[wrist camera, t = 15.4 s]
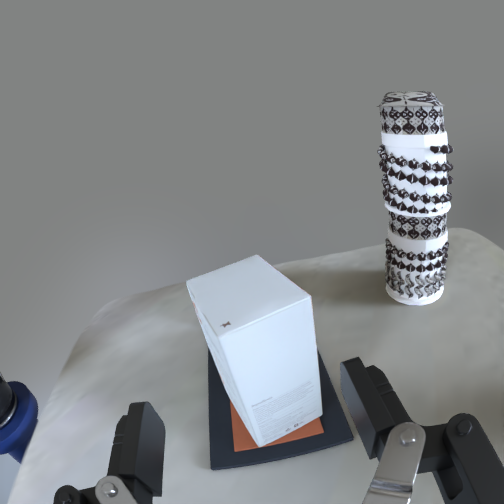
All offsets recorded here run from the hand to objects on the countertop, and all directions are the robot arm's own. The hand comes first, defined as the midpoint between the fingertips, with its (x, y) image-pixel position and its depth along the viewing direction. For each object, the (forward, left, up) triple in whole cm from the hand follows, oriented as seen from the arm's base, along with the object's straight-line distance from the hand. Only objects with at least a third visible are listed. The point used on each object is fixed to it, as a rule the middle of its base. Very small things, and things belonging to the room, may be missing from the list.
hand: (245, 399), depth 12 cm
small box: (+1, +10, -14) cm, 17 cm away
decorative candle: (+22, +22, -14) cm, 35 cm away
